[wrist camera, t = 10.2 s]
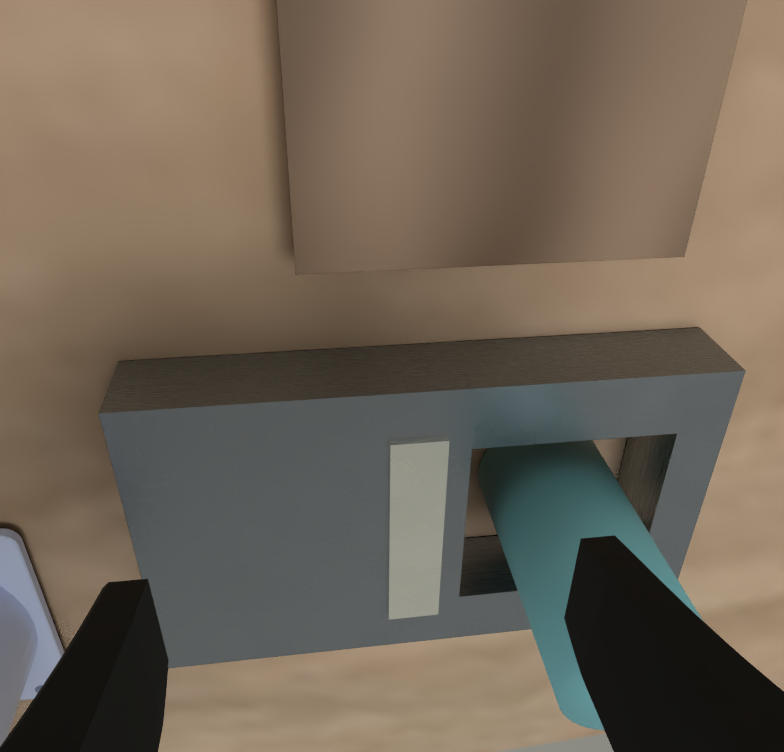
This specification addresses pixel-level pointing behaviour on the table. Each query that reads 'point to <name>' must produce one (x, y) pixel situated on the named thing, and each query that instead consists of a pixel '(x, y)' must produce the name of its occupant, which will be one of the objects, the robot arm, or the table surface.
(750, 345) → the table surface
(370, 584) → the plate
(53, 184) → the table surface
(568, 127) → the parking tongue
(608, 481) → the peg
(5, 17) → the table surface
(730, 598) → the table surface
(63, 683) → the robot arm
